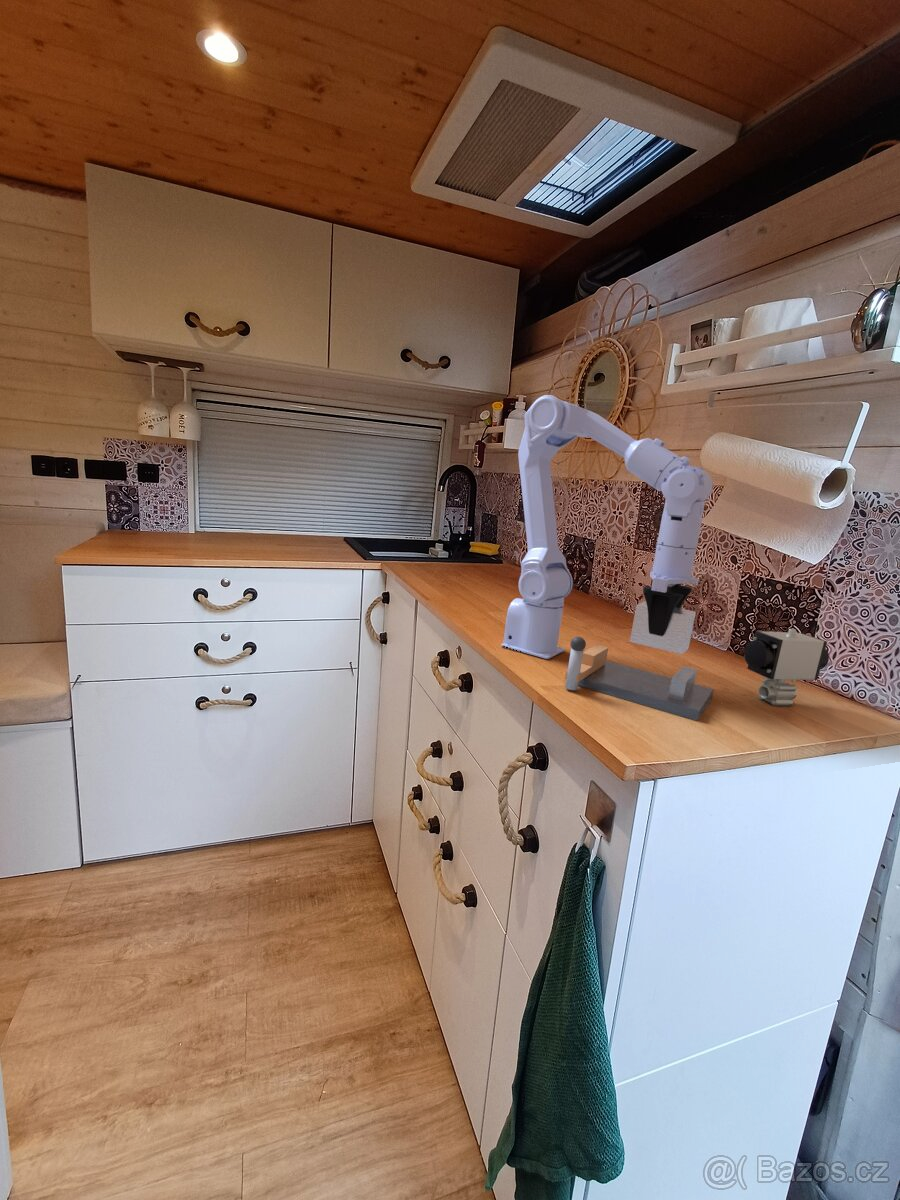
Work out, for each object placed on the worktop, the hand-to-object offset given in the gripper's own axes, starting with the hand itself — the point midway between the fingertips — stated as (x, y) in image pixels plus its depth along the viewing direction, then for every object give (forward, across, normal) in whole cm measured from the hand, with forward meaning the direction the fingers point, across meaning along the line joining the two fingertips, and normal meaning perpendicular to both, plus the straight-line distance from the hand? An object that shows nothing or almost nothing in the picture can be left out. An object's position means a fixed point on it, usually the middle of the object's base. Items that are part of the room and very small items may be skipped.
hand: (660, 631), depth 88 cm
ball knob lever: (+9, -7, +9) cm, 14 cm away
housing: (+2, 0, 0) cm, 2 cm away
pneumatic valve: (+9, +8, -17) cm, 21 cm away
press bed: (+9, -4, 0) cm, 10 cm away
